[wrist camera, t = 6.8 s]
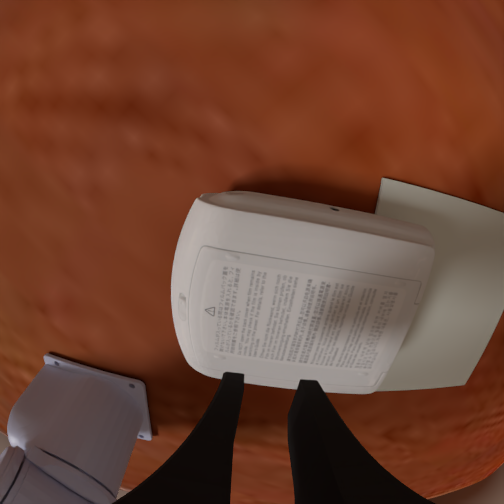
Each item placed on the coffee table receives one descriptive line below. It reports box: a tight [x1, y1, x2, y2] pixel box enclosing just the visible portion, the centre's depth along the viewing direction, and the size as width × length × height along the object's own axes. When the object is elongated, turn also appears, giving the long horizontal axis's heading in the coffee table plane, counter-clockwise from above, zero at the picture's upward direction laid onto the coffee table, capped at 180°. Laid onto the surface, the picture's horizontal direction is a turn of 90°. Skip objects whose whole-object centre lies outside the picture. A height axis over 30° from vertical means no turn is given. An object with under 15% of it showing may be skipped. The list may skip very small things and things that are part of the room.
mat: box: [375, 178, 504, 391], centre depth 18 cm, size 14×15×1 cm
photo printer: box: [171, 191, 435, 394], centre depth 16 cm, size 10×4×12 cm
